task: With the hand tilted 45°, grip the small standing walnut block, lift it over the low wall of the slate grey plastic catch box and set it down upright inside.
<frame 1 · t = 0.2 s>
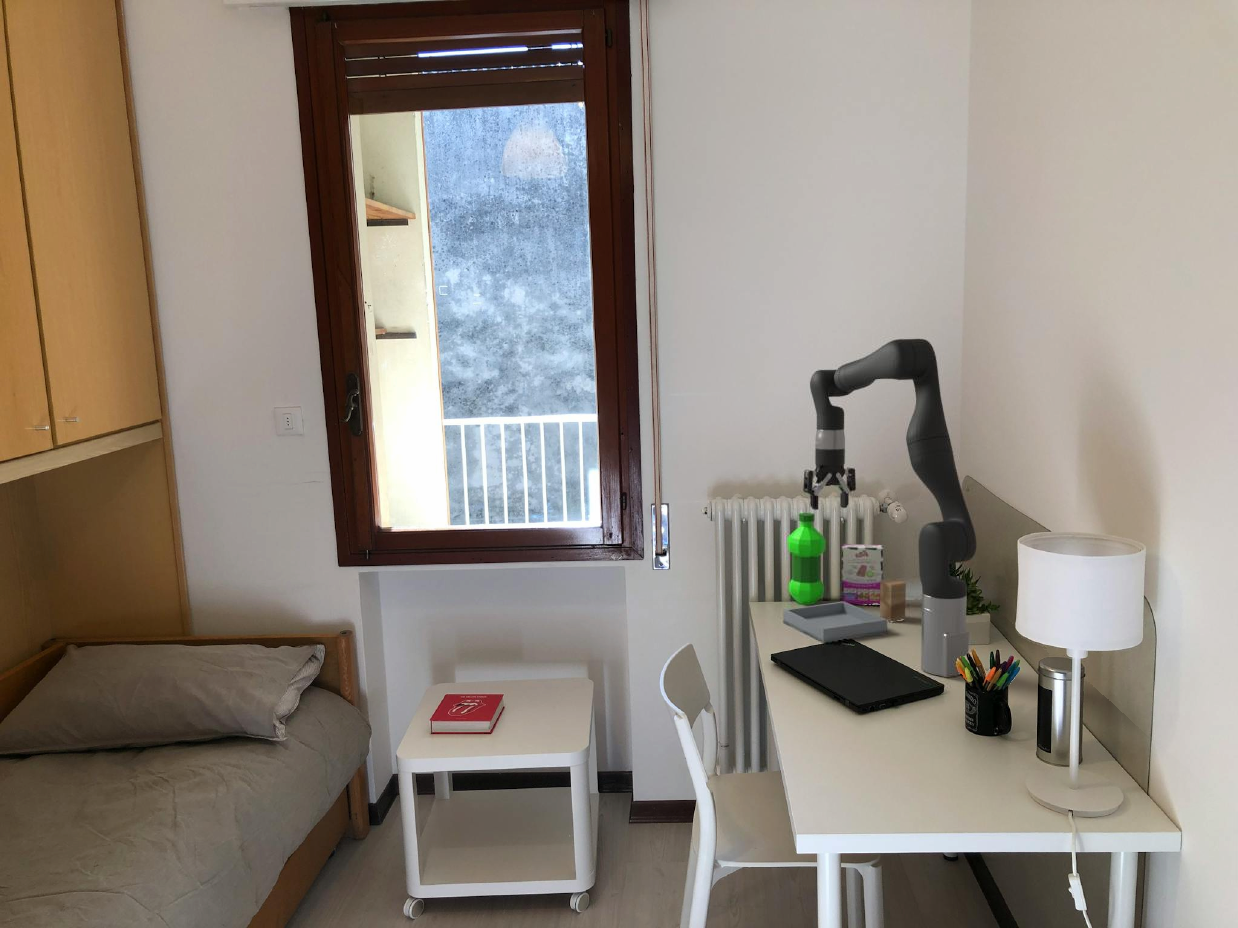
hand: (829, 508, 246), 29 cm above the table, tool pointing down, fingers open, 8 cm apart
candy bar box: (862, 603, 262), on the table
walnut block: (892, 619, 246), on the table
catch box: (834, 627, 240), on the table
plastic bottle: (806, 602, 264), on the table
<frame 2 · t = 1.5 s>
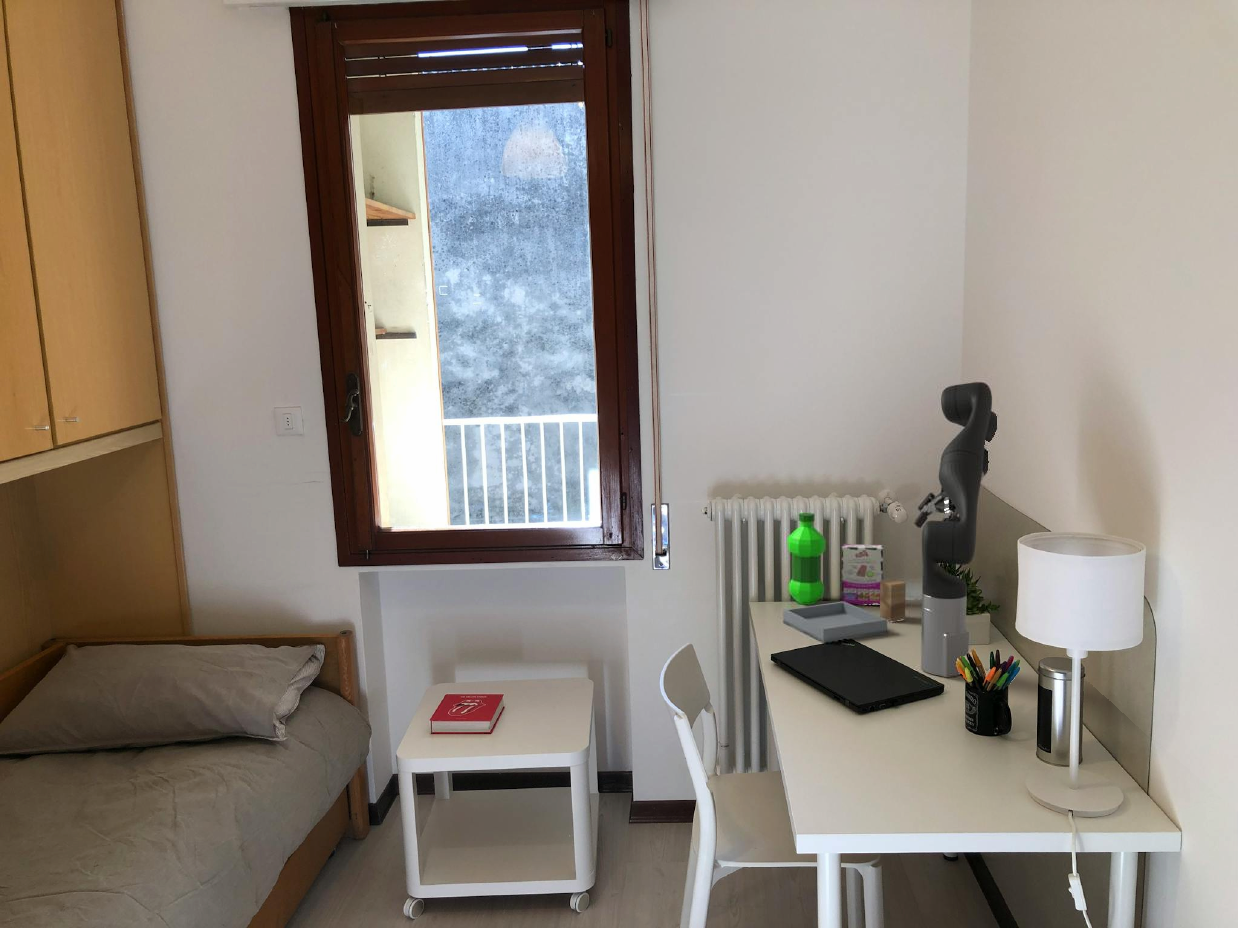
hand: (927, 528, 247), 23 cm above the table, tool tilted 45°, fingers open, 8 cm apart
nothing on the table moved.
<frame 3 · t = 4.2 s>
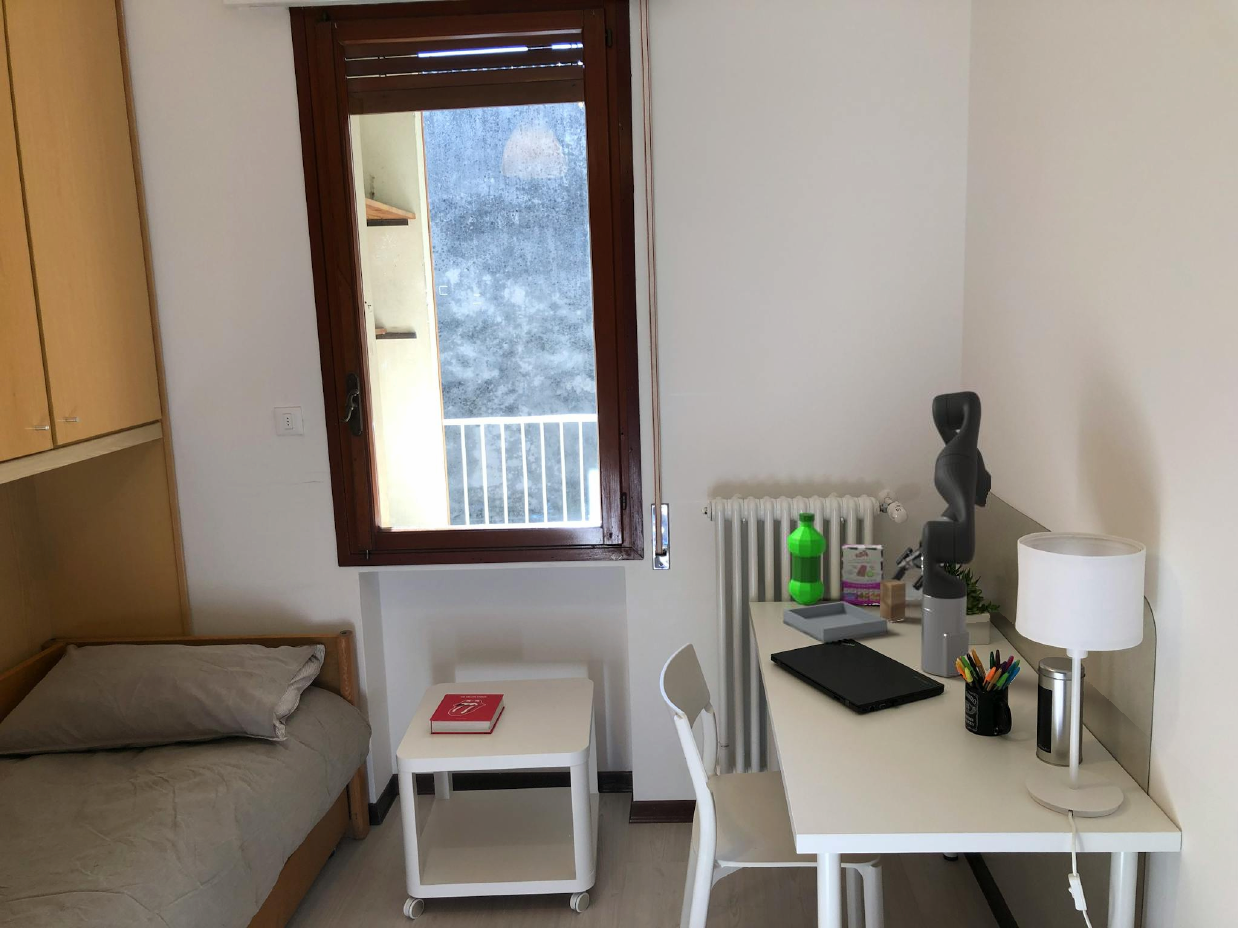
hand: (904, 584, 246), 9 cm above the table, tool tilted 45°, fingers open, 8 cm apart
nothing on the table moved.
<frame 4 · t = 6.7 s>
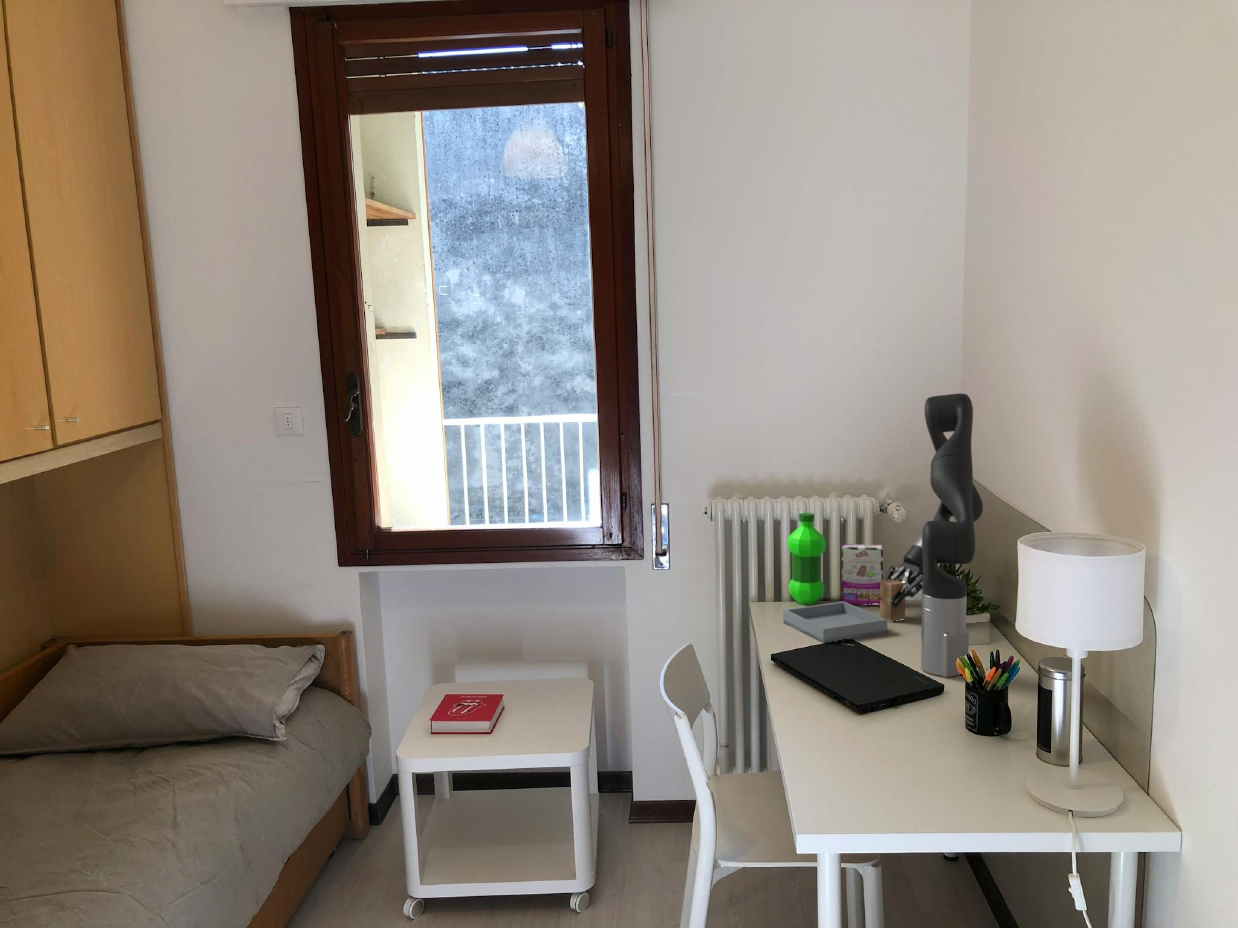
hand: (886, 602, 245), 5 cm above the table, tool tilted 45°, fingers closed on walnut block, 4 cm apart
walnut block: (892, 619, 246), on the table, touching gripper
everything else where it was.
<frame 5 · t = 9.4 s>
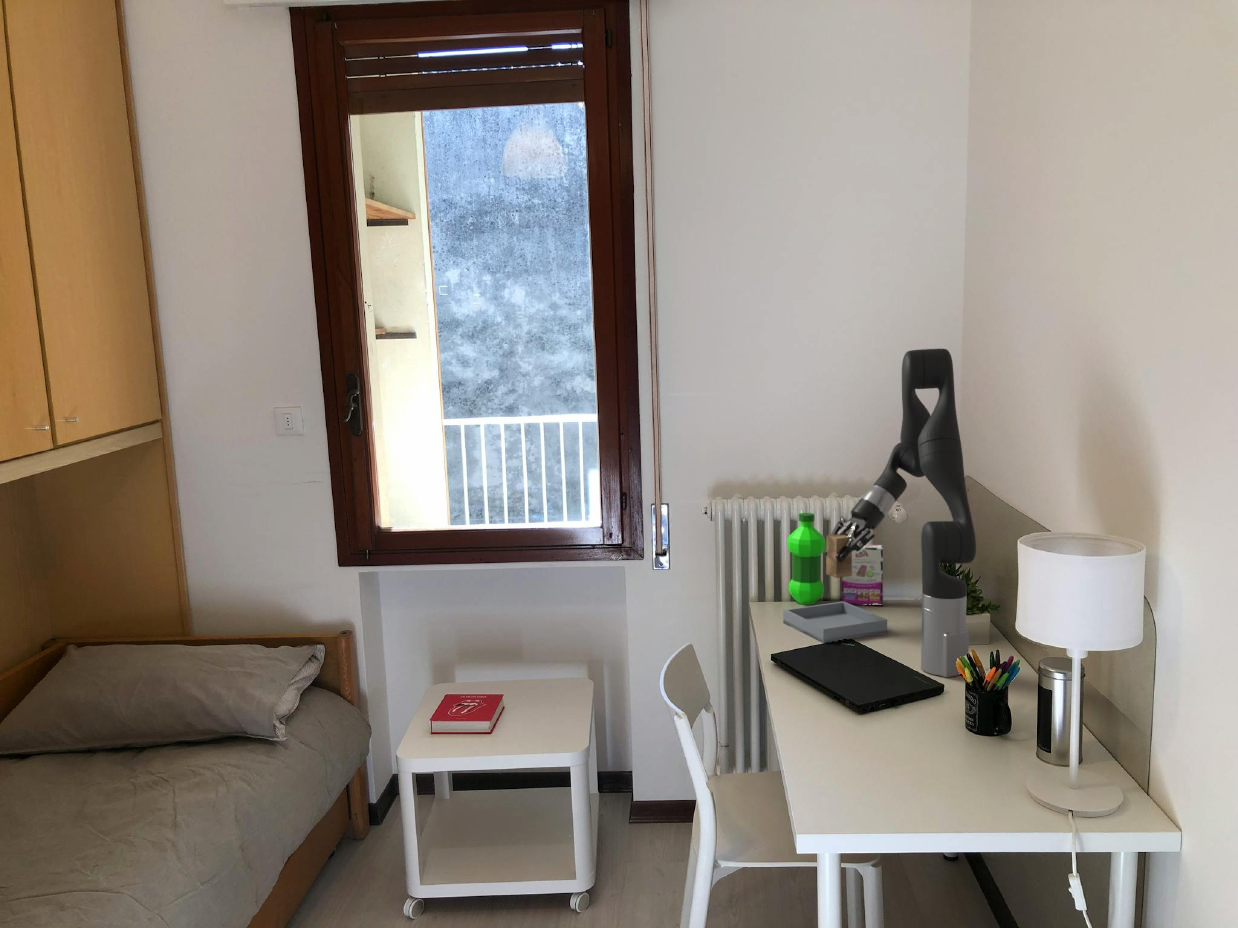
hand: (832, 557, 237), 18 cm above the table, tool tilted 45°, fingers closed on walnut block, 4 cm apart
walnut block: (838, 575, 238), point 14 cm above the table, touching gripper
everything else where it was.
when the fingers open (7 cm above the table, at t = 12.6 s): walnut block drops 1 cm, resting on catch box.
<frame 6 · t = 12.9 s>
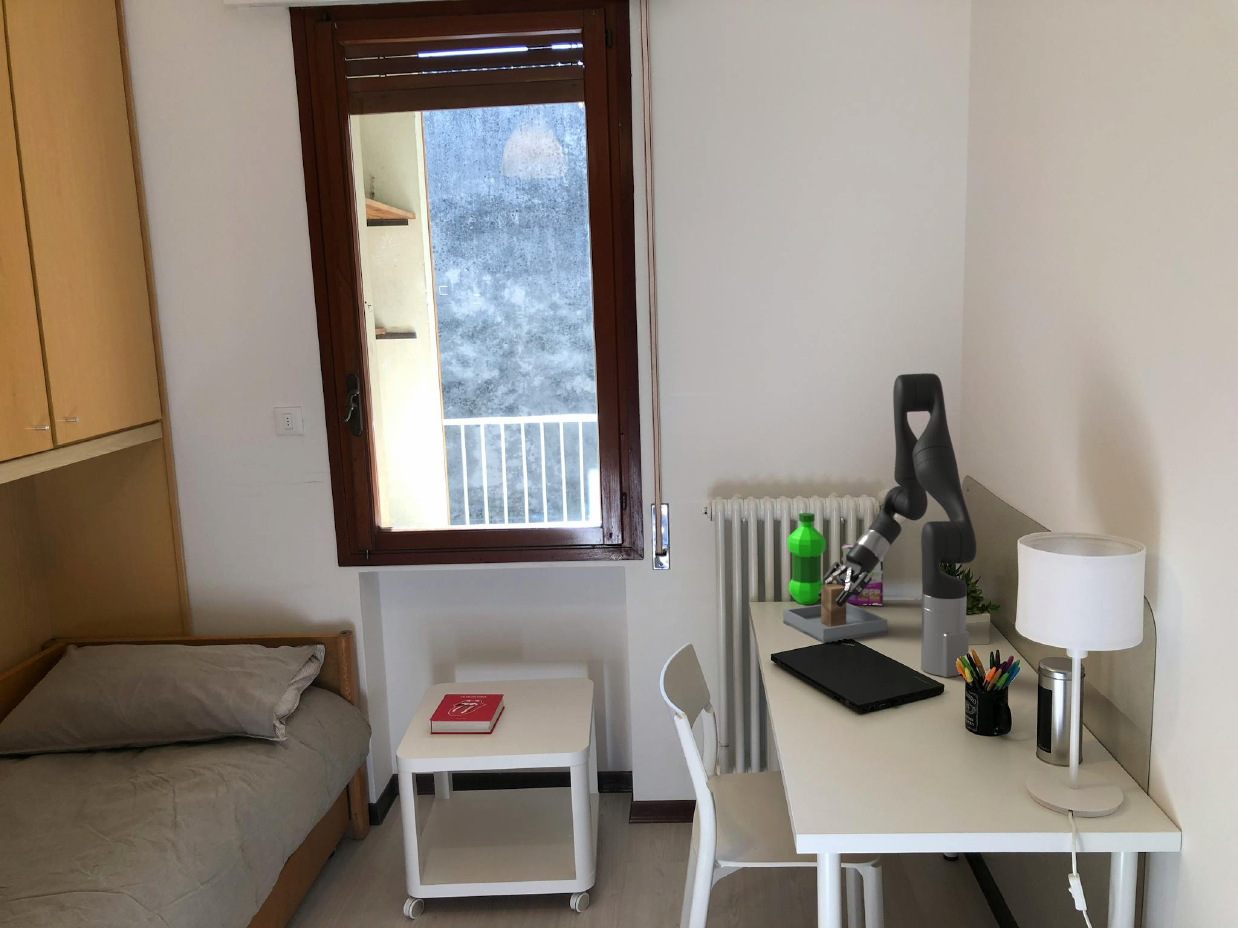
hand: (829, 600, 238), 7 cm above the table, tool tilted 45°, fingers open, 7 cm apart
walnut block: (833, 624, 240), point 1 cm above the table, touching catch box
everything else where it was.
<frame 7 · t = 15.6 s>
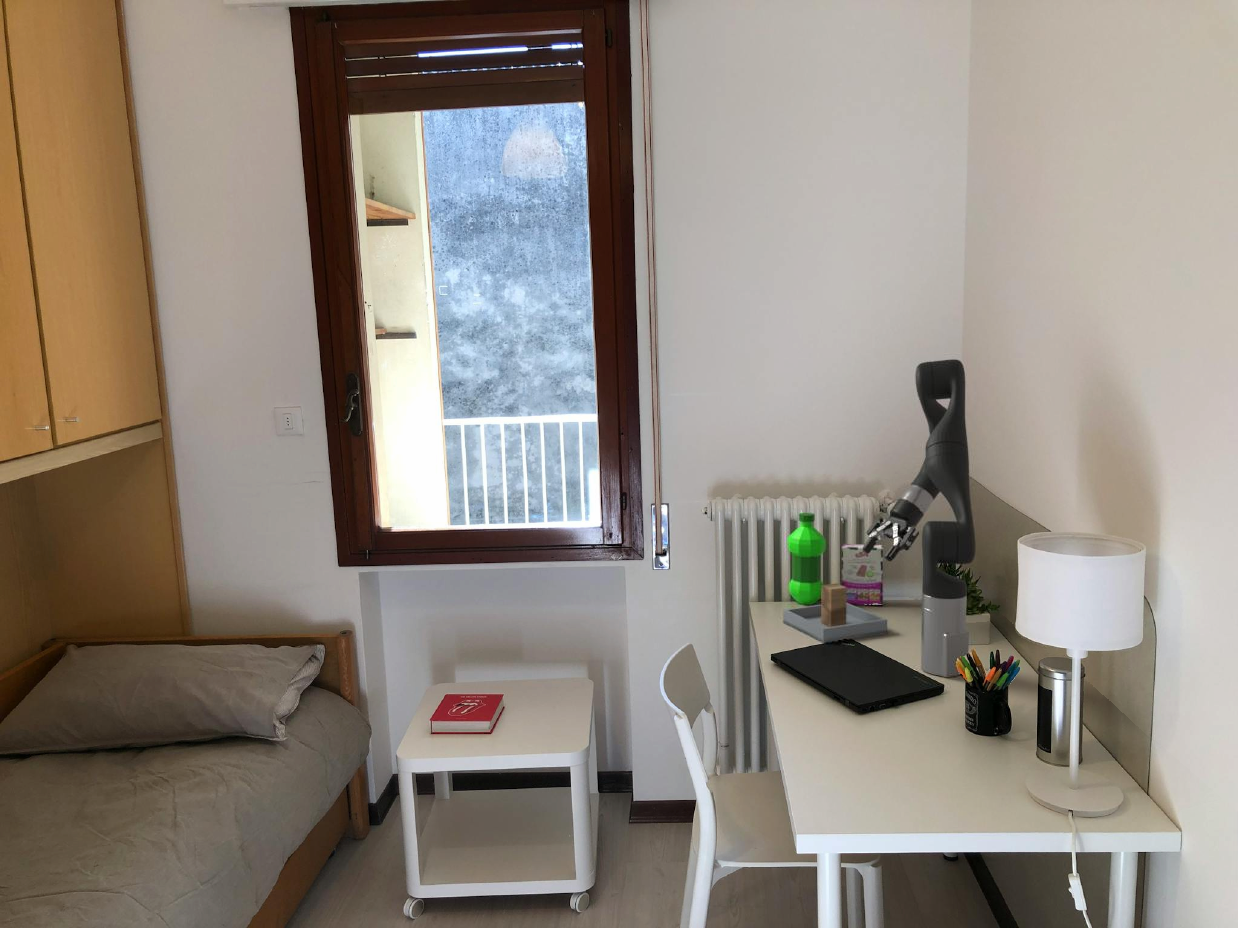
hand: (876, 555, 241), 18 cm above the table, tool tilted 45°, fingers open, 8 cm apart
nothing on the table moved.
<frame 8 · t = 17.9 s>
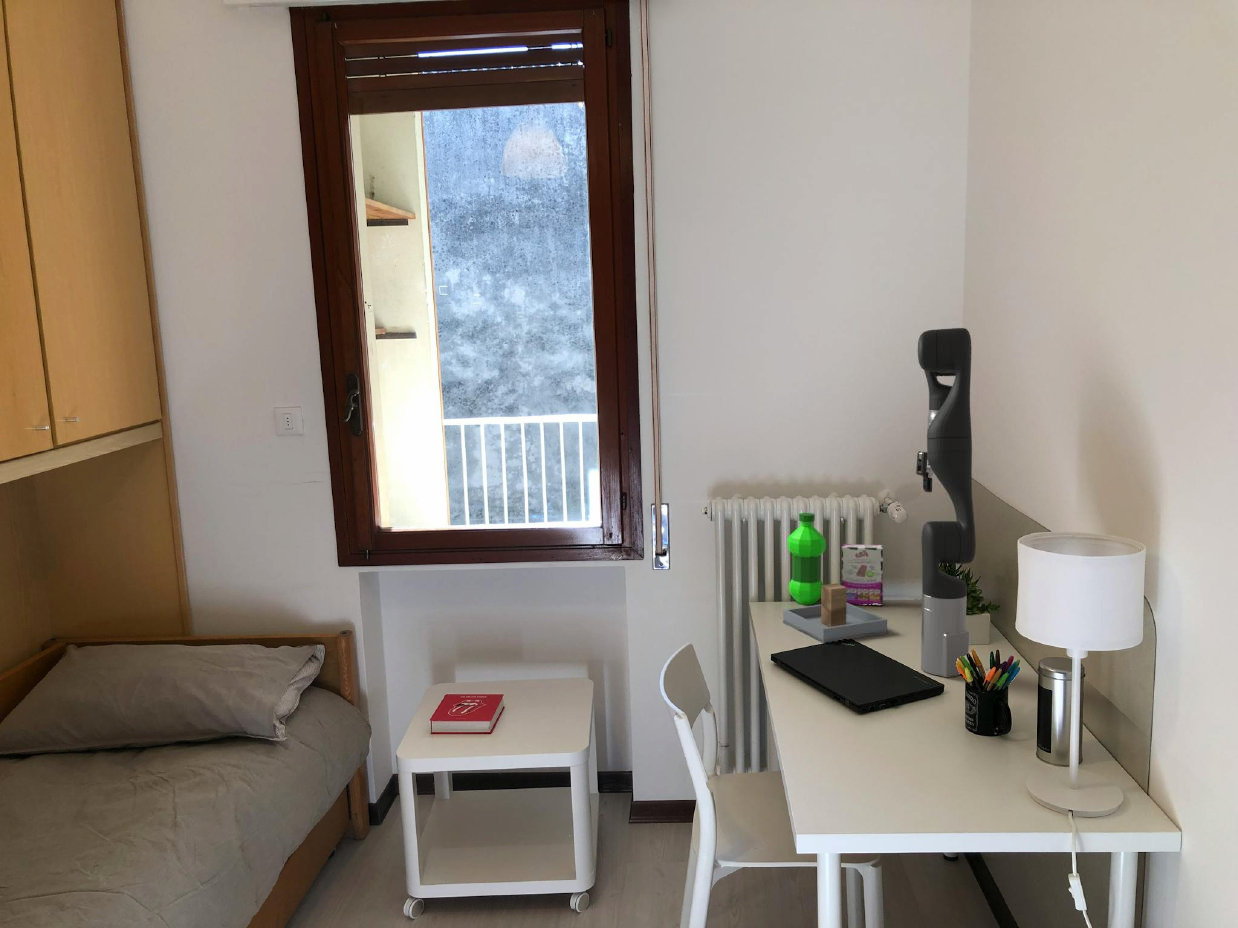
hand: (941, 490, 240), 34 cm above the table, tool pointing down, fingers open, 8 cm apart
nothing on the table moved.
at the end: walnut block inside the target area on the catch box (0.2 cm from its centre), point 0.8 cm above the catch box's base; walnut block tilted 0°; the gripper is holding nothing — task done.
